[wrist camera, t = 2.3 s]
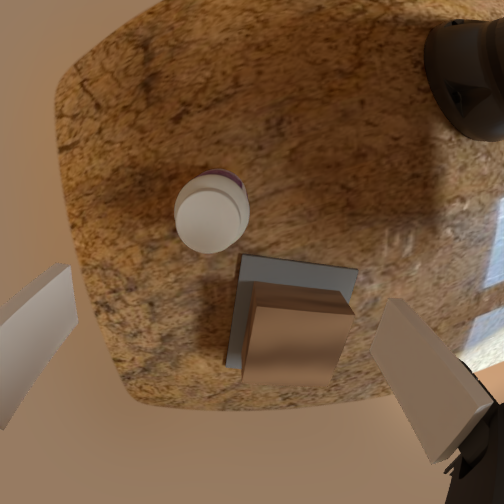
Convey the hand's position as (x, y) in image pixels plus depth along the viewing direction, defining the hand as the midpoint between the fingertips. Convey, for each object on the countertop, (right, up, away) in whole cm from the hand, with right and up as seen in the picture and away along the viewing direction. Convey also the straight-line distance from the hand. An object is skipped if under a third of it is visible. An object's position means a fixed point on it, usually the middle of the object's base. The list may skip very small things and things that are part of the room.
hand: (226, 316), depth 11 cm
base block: (+5, -5, +20) cm, 21 cm away
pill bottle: (-2, +7, +16) cm, 18 cm away
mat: (+5, -5, +20) cm, 21 cm away
